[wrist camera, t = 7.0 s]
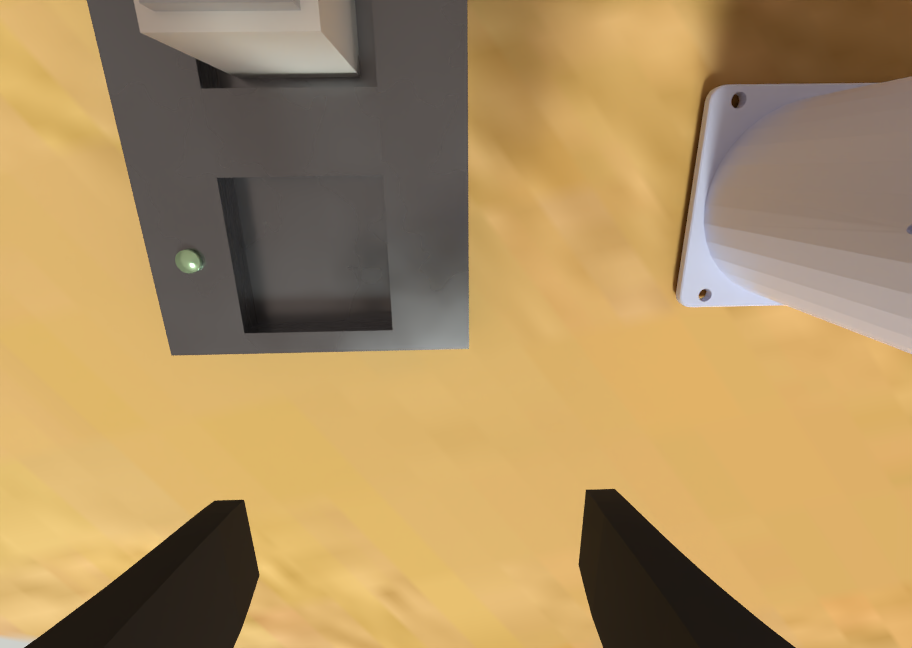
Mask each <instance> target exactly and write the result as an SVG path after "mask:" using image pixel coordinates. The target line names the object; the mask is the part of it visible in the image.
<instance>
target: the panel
mask: <svg viewBox="0 0 912 648" xmlns="http://www.w3.org/2000/svg"><path fill="white" fill-rule="evenodd" d="M87 3H88V7H89V11H90V15H91V20H92V24H93V28H94V32H95V36H96V41H97V45H98V49H99V53H100V57H101V62H102V66H103V70H104V74H105V78H106V83H107V87H108V91H109V95H110V99H111V103H112V108H113V112H114V116H115V120H116V124H117V129H118V133H119V137H120V141H121V145H122V150H123V154H124V158H125V162H126V166H127V170H128V175H129V179H130V183H131V187H132V191H133V196H134V200H135V204H136V208H137V212H138V217H139V221H140V225H141V229H142V233H143V238H144V242H145V246H146V250H147V254H148V258H149V263H150V267H151V271H152V275H153V279H154V284H155V288H156V292H157V296H158V300H159V305H160V309H161V313H162V317H163V321H164V326H165V330H166V334H167V338H168V342H169V346H170V351H171V355H212V354H257V353H301V352H346V351H390V350H434V349H469V270H468V52H467V0H355V9H356V22H357V36H358V49H359V63H360V76H361V77H314V78H237V77H235V76H233V75H231V74H228V73H226V72H224V71H222V70H220V69H218V68H215V67H213V66H211V65H209V64H207V63H205V62H202V61H200V60H198V59H196V58H194V57H192V56H189V55H187V54H185V53H183V52H181V51H179V50H177V49H174V48H172V47H170V46H168V45H166V44H164V43H161V42H159V41H157V40H155V39H153V38H151V37H148V36H146V35H144V34H142V33H140V29H139V24H138V19H137V15H136V10H135V5H134V0H87Z"/></svg>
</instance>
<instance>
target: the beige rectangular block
mask: <svg viewBox="0 0 912 648" xmlns="http://www.w3.org/2000/svg"><path fill="white" fill-rule="evenodd" d="M134 5H135V10H136V15H137V19H138V24H139V29H140V33H142V34H144V35H146V36H148V37H151V38H153V39H155V40H157V41H159V42H161V43H164V44H166V45H168V46H170V47H172V48H174V49H177V50H179V51H181V52H183V53H185V54H187V55H189V56H192V57H194V58H196V59H198V60H200V61H202V62H205V63H207V64H209V65H211V66H213V67H215V68H218V69H220V70H222V71H224V72H226V73H228V74H231V75H233V76H235V77H237V78H314V77H361V76H360V63H359V49H358V36H357V22H356V9H355V0H134Z"/></svg>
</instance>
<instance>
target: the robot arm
mask: <svg viewBox="0 0 912 648" xmlns="http://www.w3.org/2000/svg"><path fill="white" fill-rule="evenodd" d="M735 94H737V95H738V97H739V104H738V106H737V107H736V108H734V107H733V106H732V104H731V100H732V97H733V95H735ZM703 289H706V294H705V296H704V297H703V298H701V299H699V296H698V295H699V293H700V292H701V291H702V290H703ZM676 299H677V300H678V302H679V303H681V304H682V305H684V306H687V307H721V306H769V305H786V306H789V307H791V308H794V309H796V310H799V311H802V312H804V313H807V314H809V315H812V316H815V317H817V318H820V319H822V320H825V321H828V322H830V323H833V324H835V325H838V326H841V327H843V328H846V329H848V330H851V331H853V332H856V333H859V334H861V335H864V336H866V337H869V338H872V339H874V340H877V341H879V342H882V343H885V344H887V345H890V346H892V347H895V348H897V349H900V350H903V351H905V352H908V353H910V354H912V76H910V77H906V78H901V79H896V80H891V81H886V82H882V83H818V84H726V85H722V86H718V87H716V88H714V89H713V90H711V91H710V92H709V94H708V95H707V97H706V100H705V104H704V111H703V118H702V124H701V131H700V138H699V144H698V151H697V157H696V164H695V171H694V177H693V184H692V190H691V197H690V204H689V210H688V217H687V224H686V230H685V237H684V243H683V250H682V257H681V263H680V270H679V277H678V283H677V290H676ZM579 568H580V572H581V576H582V580H583V584H584V588H585V592H586V596H587V600H588V603H589V607H590V611H591V614H592V618H593V621H594V623H595V626H596V629H597V632H598V634H599V637H600V640H601V643H602V645H603V648H795V647H794V646H793V645H791V644H790V643H789V642H787V641H786V640H785V639H783V638H782V637H781V636H779V635H778V634H777V633H776V632H774V631H773V630H772V629H771V628H769V627H768V626H767V625H765V624H764V623H763V622H762V621H760V620H759V619H758V618H757V617H756V616H754V615H753V614H752V613H751V612H749V611H748V610H747V609H746V608H745V607H743V606H742V605H741V604H740V603H739V602H737V601H736V600H735V599H734V598H733V597H731V596H730V595H729V594H728V593H727V592H725V591H724V590H723V589H722V588H721V587H720V586H718V585H717V584H716V583H715V582H714V581H713V580H711V579H710V578H709V577H708V576H707V575H706V574H705V573H703V572H702V571H701V570H700V569H699V568H698V567H697V566H696V565H695V564H693V563H692V562H691V561H690V560H689V559H688V558H687V557H686V556H685V555H684V554H682V553H681V552H680V551H679V550H678V549H677V548H676V547H675V546H674V545H673V544H672V543H671V542H669V541H668V540H667V539H666V538H665V537H664V536H663V535H662V534H661V533H660V532H659V531H658V530H657V529H656V528H655V527H654V526H653V525H652V524H650V523H649V522H648V521H647V520H646V519H645V518H644V517H643V516H642V515H641V514H640V513H639V512H638V511H637V510H636V509H635V508H634V507H633V506H632V505H631V504H630V503H629V502H628V501H627V500H626V499H625V498H624V497H623V496H621V495H620V494H619V493H618V492H617V491H616V490H615V489H600V490H586V496H585V506H584V516H583V526H582V536H581V547H580V557H579ZM258 578H259V571H258V566H257V561H256V556H255V551H254V546H253V541H252V537H251V532H250V527H249V522H248V517H247V512H246V507H245V502H244V500H222V501H214V502H212V503H211V504H210V505H208V506H207V507H206V508H204V509H203V510H202V511H200V512H199V513H198V514H197V515H195V516H194V517H193V518H192V519H190V520H189V521H188V522H187V523H185V524H184V525H183V526H182V527H180V528H179V529H178V530H177V531H175V532H174V533H173V534H172V535H170V536H169V537H168V538H167V539H166V540H164V541H163V542H162V543H161V544H159V545H158V546H157V547H156V548H154V549H153V550H152V551H151V552H149V553H148V554H147V555H146V556H144V557H143V558H142V559H141V560H139V561H138V562H137V563H136V564H134V565H133V566H132V567H131V568H129V569H128V570H127V571H126V572H124V573H123V574H122V575H121V576H119V577H118V578H117V579H115V580H114V581H113V582H112V583H110V584H109V585H108V586H107V587H105V588H104V589H103V590H101V591H100V592H99V593H97V594H96V595H95V596H93V597H92V598H91V599H89V600H88V601H87V602H85V603H84V604H83V605H81V606H80V607H79V608H77V609H76V610H75V611H73V612H72V613H71V614H69V615H68V616H67V617H65V618H64V619H63V620H61V621H60V622H59V623H57V624H56V625H55V626H53V627H52V628H51V629H49V630H48V631H47V632H45V633H44V634H43V635H41V636H40V637H38V638H37V639H36V640H34V641H33V642H31V643H30V644H29V645H27V646H26V647H24V648H233V647H234V645H235V643H236V640H237V638H238V636H239V634H240V631H241V629H242V626H243V623H244V621H245V618H246V615H247V612H248V609H249V606H250V603H251V600H252V597H253V594H254V590H255V587H256V584H257V581H258Z"/></svg>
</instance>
